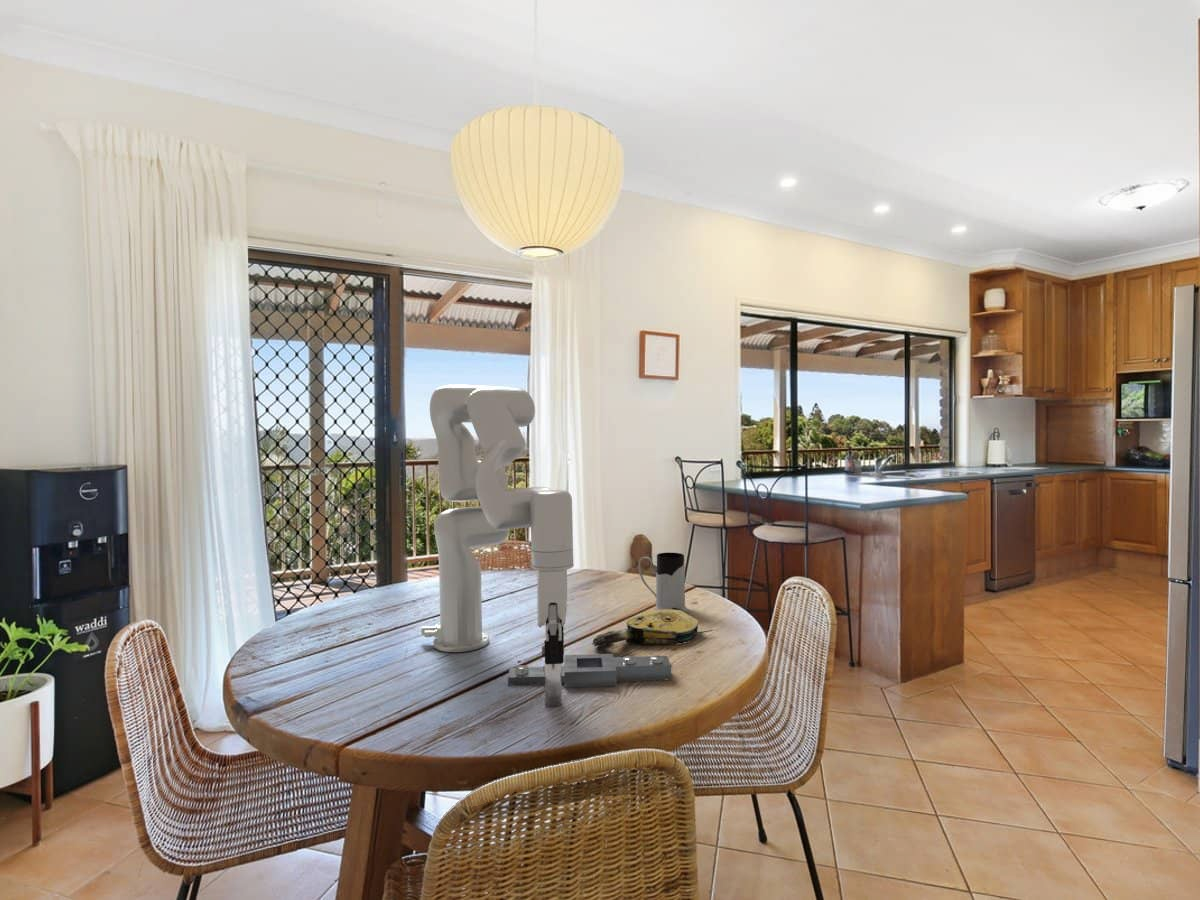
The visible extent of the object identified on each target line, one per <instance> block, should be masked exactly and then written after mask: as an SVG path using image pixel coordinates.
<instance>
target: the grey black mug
mask: <svg viewBox="0 0 1200 900" xmlns="http://www.w3.org/2000/svg"><path fill="white" fill-rule="evenodd" d="M643 559H647V560H649V562H650V565H651V572H652V573H653V574H655V575H656V576H655V579H656V580H655V581H656V582H655V584H656V587H655V589H656V592H655V591H654V590H653V588H651V587H650V586H649V585H648V583H647V582H646V581H645V579H644V577H643V573H642V570H641V569H642V568H641V562H642V560H643ZM685 568H686V565H685V555H684V554H682V553H678V552H659V553H657V554H656V571H655V570H654V562H653V560H652V559H651V558H650V557H649V556H643V557H641V558H640V559H639V561H638V572H639V576H640V579H641V581H642V583H643V584H644V586H646V588H647V589H648V590H649V591H650V592H651V593H652V594H653V595H654V597H655V599H656V602H655V603H656V604H655V607H654V610H662V609H672V608H679V609H682V610H685V611H686V612H687V606H686V595H685V594H686V584H685V583H686V580H685V579H686V577H685V576H686V572H685V571H686V569H685ZM673 610H674V609H673Z"/></svg>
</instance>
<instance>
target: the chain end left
mask: <svg viewBox="0 0 1200 900" xmlns="http://www.w3.org/2000/svg"><path fill="white" fill-rule="evenodd" d="M589 667H602V666H601V665H584V666H577V668H589ZM561 672H562V684H564V689H565V688H566V689H567V688H592V687H593V688H594V687H595V688H596V687H617V682H616V678H612V679H580V680H565V679H564V665H561ZM523 685H530V686H531V685H545V664H544V665H543V666H528V665H525V664H523V665H522V664H521V665H516V666H515V667H510V668H509V671H508V675H507V686H523Z"/></svg>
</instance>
